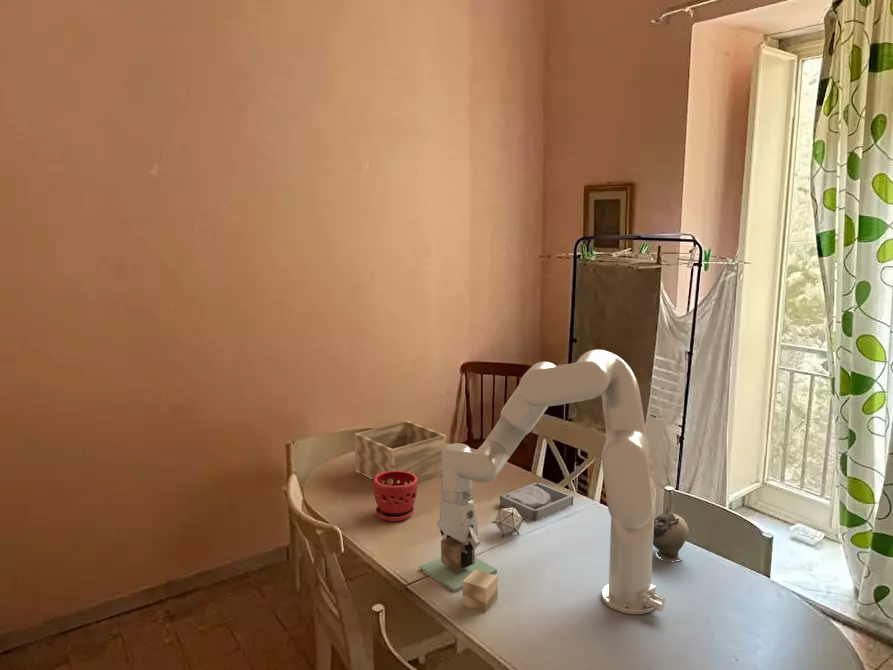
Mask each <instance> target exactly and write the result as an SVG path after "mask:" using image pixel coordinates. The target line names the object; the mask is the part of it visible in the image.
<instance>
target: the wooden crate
mask: <svg viewBox="0 0 893 670" xmlns="http://www.w3.org/2000/svg"><path fill="white" fill-rule="evenodd" d="M446 445H447V435H446V434H443V433H441V432H438V431H436V430H433V429H430V428H428V427H425V426H423V425H420V424H417V423H415V422H412V421H409V420H404V421H399V422H396V423H393V424H388V425H383V426H380V427H376V428H372V429H366V430H364V431H359V432H355V433H354V453H355V456H354V457H355V460H354V461H355V471H356V470H358V471H360V472H361V473H363V474H365V475H367V476H368V477H370V478H372V479H373V480H374V478H375V476H376V475H378V474H380V473H383V472H387V471H404V472H409V473H411V474H413V475H415V476H416V477H417V484H418V483H422V482H425V481H429V480H431V479H435V478H437V477H440V475H441V476H442V456H441V455H442V449H443V448H444V447H445V446H446ZM373 480H372V481H373ZM384 482H385V481H383V483H384ZM410 482H411V481H410ZM397 483H400V481H399V480H398V481H397ZM411 483H412V482H411ZM387 484H388V485H391V484H393V479H388V480H387ZM407 484H408V483H407V482H405V485H407Z"/></svg>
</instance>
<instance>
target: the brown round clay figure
mask: <svg viewBox="0 0 893 670" xmlns="http://www.w3.org/2000/svg"><path fill="white" fill-rule="evenodd" d="M689 536H690V529H689V525H688V524H687V522H686V521H685V519H684V518H682V517H681V516H680V515H678V514H675V513H672V512H670V509H669V506H667V507H666V509H664V511H663V512H662V513H661V514H660V515H658V516H656V518H655V517H654V538H653V547H654V548H655V549H657V551H658V550H659V551H658V552H657V554H658V556H659V557H661V559H663V560H665V561H664V562H666V561H667V563H671V562H672V561H676V560H680V559H681V558H680V557H679V551H680V550H681V549H682V548H683V546H684V545H685V542H686V541H687V539H688V538H689Z"/></svg>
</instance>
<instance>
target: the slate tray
mask: <svg viewBox="0 0 893 670" xmlns="http://www.w3.org/2000/svg"><path fill="white" fill-rule="evenodd" d="M530 485H532V486H536V487H539V488H541V489H543V490H544V491H546V492H547V493H548V494H549V495H550V497H551V499H553V500H555V501H551V502H550V504H548V505H545V506H543V507H540V508H538V509H533V508H531V507H528V506H526V505H524V504H522V503H519V502H517V501H515V500H512V499H510V498H508V496H509V494H510V493H517V492H518V491H520V490H521V489H522V488H524V487H526V486H530ZM526 486H523V487H520V488H517V489H515V490H512V491H510V492H506V493H504V494H502V495H500V496H499V506H502V507H503V506H504V507H503V508H509V507H513V506H514V504H515V509H516V510H517V511H518V513H519V514H520V515H521V516H522V517H524V518H526V519H528V520H532V521H533V522H537V521H539V520H541V518H542V519H544V518H547V517H548V515H549V516H550V514H551V515H553V514H556V513H558V512H560V511H563V510H565V509H567V508H569V507H568V506H570V505H572V506H574V495H572V494H569V493H567V492H564V491H561V490H558V489H556V488H554V487H552V486H549V485H547V484H544V483H542V482H538V481H535V482H533V483H531V484H528V485H526ZM566 507H567V508H566ZM570 507H571V506H570ZM564 508H565V509H564ZM562 509H563V510H562ZM559 510H560V511H559ZM557 511H558V512H557ZM555 512H556V513H555ZM543 517H544V518H543Z"/></svg>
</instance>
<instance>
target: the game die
mask: <svg viewBox="0 0 893 670" xmlns="http://www.w3.org/2000/svg"><path fill="white" fill-rule="evenodd" d="M497 509H498V512H497V515H496V517H495V519H494V521H493V520H492V521H491V524H495V526H496V527H497V529H498V530H499V531H500V532H501V534H502V535H501V538H504V537H505V535H511V534H515V533H517V535H520V532H519V530H520V528H521V526H522V523H523V521H525V520H526V519H527V518H526V517H524V518H523V516H522V515H521V514H519V513H518V511H517V510H516V509H515V504H514V506H513V507H509V508H506V507H503V508H501V507H499V506H497Z"/></svg>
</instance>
